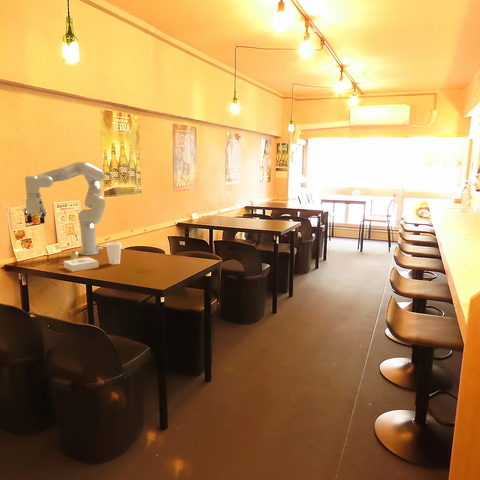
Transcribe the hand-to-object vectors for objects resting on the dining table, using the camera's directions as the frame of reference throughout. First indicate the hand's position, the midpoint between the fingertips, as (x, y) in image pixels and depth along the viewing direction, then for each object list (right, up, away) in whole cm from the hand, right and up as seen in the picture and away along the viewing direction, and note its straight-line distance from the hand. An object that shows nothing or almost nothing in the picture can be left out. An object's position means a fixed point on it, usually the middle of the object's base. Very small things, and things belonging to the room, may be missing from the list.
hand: (36, 223), depth 257 cm
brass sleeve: (+22, -25, +7) cm, 34 cm away
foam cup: (+48, -26, +5) cm, 55 cm away
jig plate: (+31, -28, -6) cm, 42 cm away
